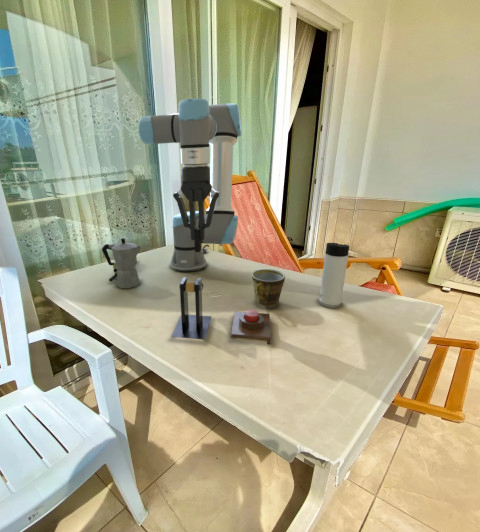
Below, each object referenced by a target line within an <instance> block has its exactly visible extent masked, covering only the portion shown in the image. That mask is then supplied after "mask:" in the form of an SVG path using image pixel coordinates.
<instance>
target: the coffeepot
mask: <svg viewBox="0 0 480 532" xmlns="http://www.w3.org/2000/svg"><path fill="white" fill-rule="evenodd" d="M120 241H121V242H120V243H117V244H114V243H113V244H112V243H111V244H108V243H106V244H104V245H103V247H102V248H101V252H102V253H103V255H104V258H105V259H106V262H107V264H108V265H109V266H113V265H114V263H113V261H112V260H111V256H110V255H109V252H108V251H107V250H109V251H110V250H111V252H112V255H113V258H114V261H115V262H116V265H117V279H116V287H117V288H119V289H132V288H135V287H137V286H139V285H140V284H141V281H140V277H139V273H138V270H137V267H136V263H137V262H136V257H137V256H138V253H139V252H140V251H141V250H142V246H140V245H137V244H136V243H132V242H126V238H120Z"/></svg>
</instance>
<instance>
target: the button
mask: <svg viewBox="0 0 480 532" xmlns="http://www.w3.org/2000/svg"><path fill="white" fill-rule="evenodd" d="M244 312H245V320H247V321H250V322H255V321H258V316H259V313H260V312H258V311H257V310H254V309H248V310H246V311H244Z"/></svg>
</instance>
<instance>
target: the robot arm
mask: <svg viewBox="0 0 480 532" xmlns="http://www.w3.org/2000/svg"><path fill="white" fill-rule="evenodd" d="M241 120H242V119H241V113H240V107H239V105H238V104H236V103H227V102H225V103H221V104H209V101H208V100H207V99H206V98H199V97H196V98H185V99H182V100H180V101H179V103H178V113H168V114H159V115H147V116H142V117H140V119H139V121H138V125H137V126H138V128H137V129H138V136H139V139H140V140H141V142H142V143H143V144H145V145H159V144H161V145H162V144H179V143H180V145H179V146H180V163H181V165H182V167H181V186H180V189H179V190H178V191H176V192H173V194H172V196H173V198H174V200H175V201H176V203H177V206H178V211H179V213H178V214H175V215H174V216H173V218H172V235H173V252H172V256H171V260H170V267H171V269H172V270H174V271H177V272H188V273H189V272H197V271H200V270H202V269H204V268H205V267H206V266H207V260H206V257H205V255H204V254H206V253H207V249H205V248H206V247H208V248H209V247H210V245H231V244H233V243H234V242H235V239H236V235H237V230H238V223H239V216H238V215H237V214H235V210H234V209H233V207H232V187H233V161H234V160H233V159H234V145H235V144H236V143H238V138H239V137H241V136H242V122H241ZM210 146H211V149H210ZM210 150H211V153H210ZM209 164H210V165H209ZM184 197H185V198H186V199H187V201H188V210H189V211H187V208H186V205H185V200H184V199H183V198H184ZM208 197H209V206H208V208H206V209H205V203H206V202H205V200H206V199H207V198H208ZM196 202H197V203H196ZM196 204H197V206H198V210H196ZM203 244H204V246H202V245H203Z"/></svg>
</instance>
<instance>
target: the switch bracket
mask: <svg viewBox="0 0 480 532" xmlns="http://www.w3.org/2000/svg"><path fill="white" fill-rule="evenodd" d="M202 279H203V278H201V277H198V278H197V280H195V281H196V283H195V292H194V298H195V300H194V303H195V314H189V294H188V293H189V292H186V283H188V277H182V279H181V281H180V282H179V286H178V287H179V298H180V317H179V320H178V321H177V324H176V326H175V328H174V330H173V332H172V334H171V338H179V339H180V338H181V339H191V340H192V339H193V340H203V341H204V340H206V337H207V334H208V331H209V328H210V327H209V326H210V323H211V320H212V316H211V315H203V290H202V289H204V285H203V286H202V283H203V282H202Z"/></svg>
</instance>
